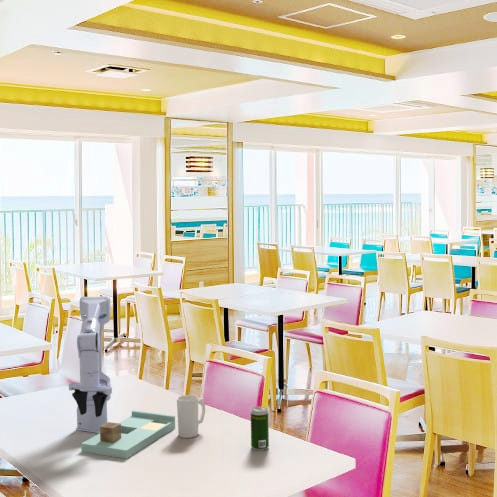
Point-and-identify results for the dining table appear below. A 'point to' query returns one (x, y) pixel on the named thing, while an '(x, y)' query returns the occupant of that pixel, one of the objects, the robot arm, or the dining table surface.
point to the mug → (189, 415)
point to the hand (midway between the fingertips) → (91, 414)
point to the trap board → (132, 435)
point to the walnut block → (110, 432)
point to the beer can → (259, 428)
